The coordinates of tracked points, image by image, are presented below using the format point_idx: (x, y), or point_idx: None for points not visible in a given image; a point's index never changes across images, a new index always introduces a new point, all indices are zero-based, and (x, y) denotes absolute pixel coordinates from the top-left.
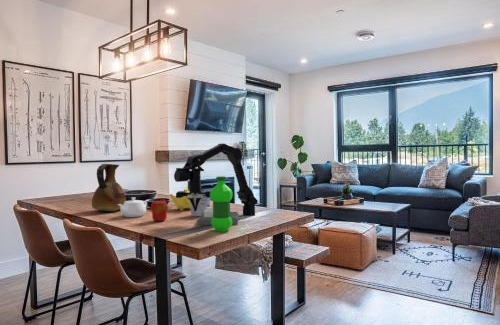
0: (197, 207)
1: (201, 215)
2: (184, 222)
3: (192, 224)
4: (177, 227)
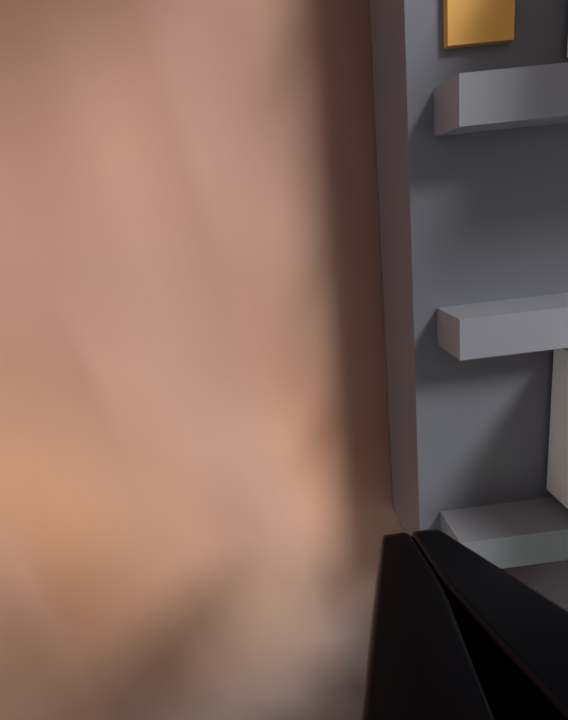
0: (528, 597)
1: (495, 331)
2: (65, 293)
3: (287, 458)
4: (107, 666)
